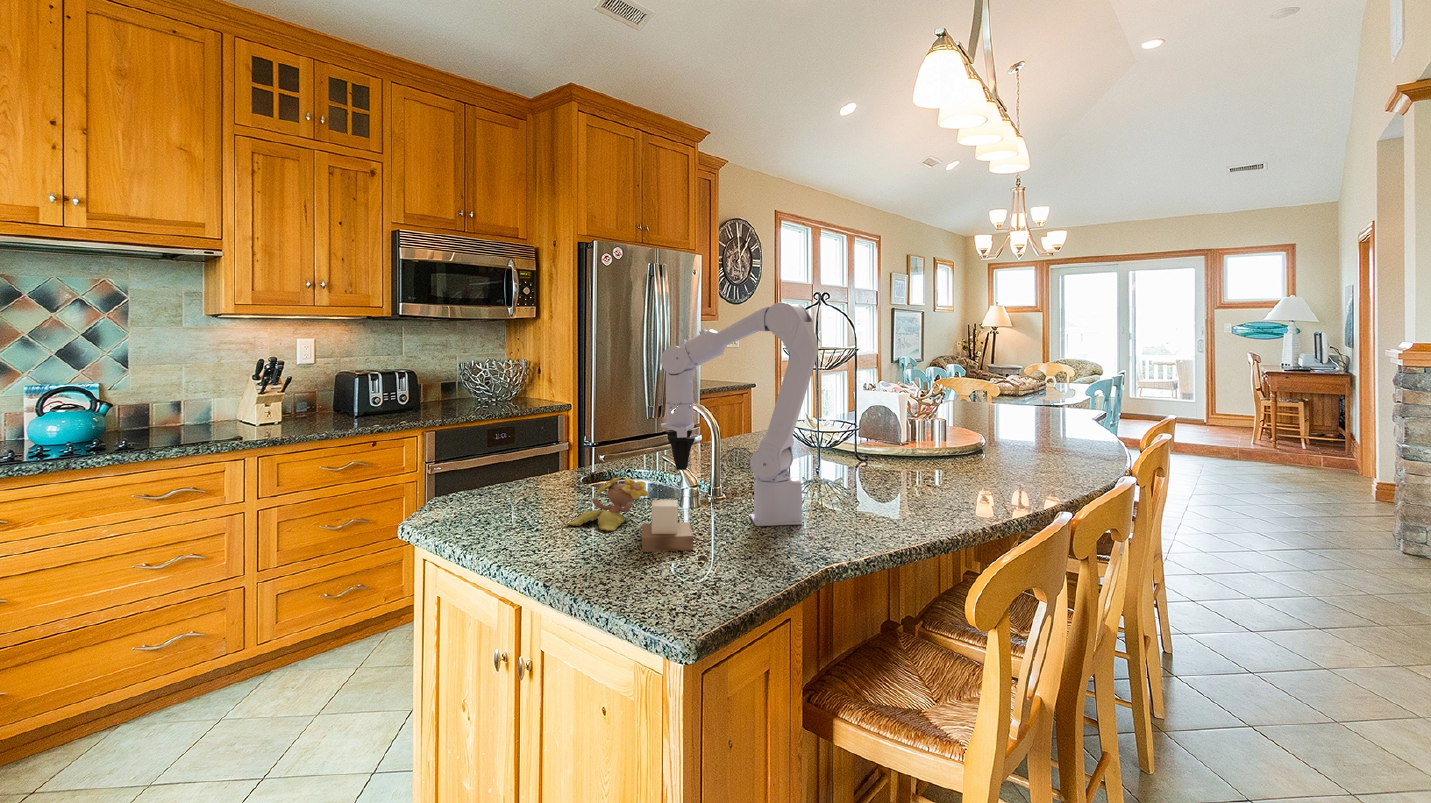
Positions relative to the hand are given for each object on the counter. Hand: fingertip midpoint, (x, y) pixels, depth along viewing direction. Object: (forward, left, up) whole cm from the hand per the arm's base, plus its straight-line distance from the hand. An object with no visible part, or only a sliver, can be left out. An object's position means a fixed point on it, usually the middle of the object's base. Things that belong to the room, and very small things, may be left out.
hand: (680, 466), depth 147 cm
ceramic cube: (+4, +22, -7) cm, 24 cm away
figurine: (+15, +5, -10) cm, 19 cm away
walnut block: (+4, +22, -10) cm, 25 cm away
